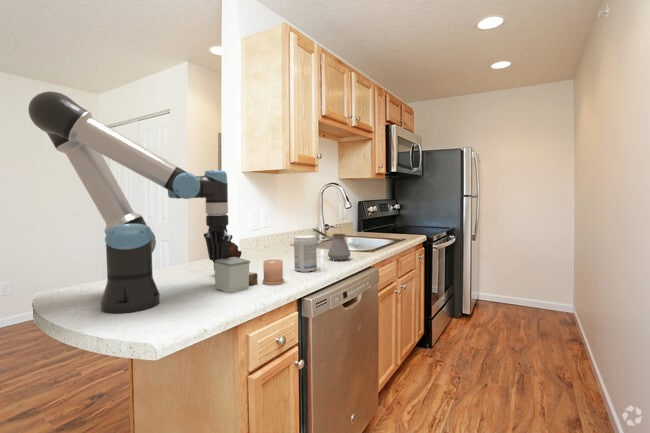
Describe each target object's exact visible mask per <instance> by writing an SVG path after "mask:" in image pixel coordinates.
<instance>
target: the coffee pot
mask: <svg viewBox="0 0 650 433" xmlns="http://www.w3.org/2000/svg"><path fill="white" fill-rule="evenodd" d="M314 232H315V233H318V234H319V235H322V236H323V237H326V238H327V239H330V240H331V241H332V242H331V245H330V246H329V247H330V248H329V250H328V252H327V256H328V258H330V259H334V260H345V259H347V260H348V259H349V258H350V257H351V251H350V249H349V247H348V244H347V241H346V239H345V236H346V233H332V235H333V237H331V236H330V235H329V236H328V235H327V234H326V233H324V232H322V231H320V230H318V229H315V228H313V229H312V233H314ZM334 260H333V261H334ZM345 261H346V260H345Z"/></svg>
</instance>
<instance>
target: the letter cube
mask: <svg viewBox="0 0 650 433" xmlns="http://www.w3.org/2000/svg"><path fill="white" fill-rule="evenodd" d="M258 276H259V275H258V273H257V272H250V271H249V287H254V286H256V285H258V280H259V279H258Z"/></svg>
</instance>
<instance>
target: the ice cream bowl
mask: <svg viewBox="0 0 650 433" xmlns="http://www.w3.org/2000/svg"><path fill="white" fill-rule="evenodd" d="M242 252H243V251H242V250H239V246H238V245H237V244H236V243H235V242H232V241H231V242H230V249H229V255H228V258H231V257H238V258H242Z"/></svg>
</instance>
